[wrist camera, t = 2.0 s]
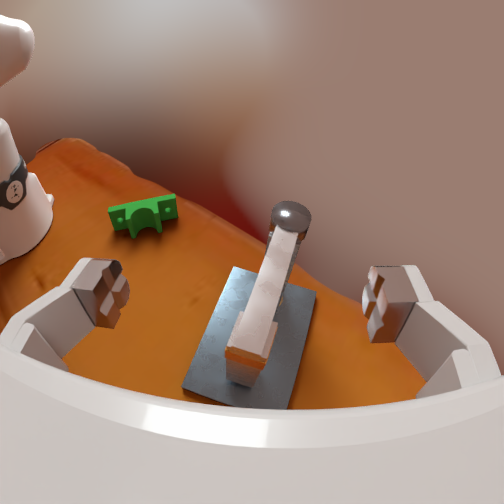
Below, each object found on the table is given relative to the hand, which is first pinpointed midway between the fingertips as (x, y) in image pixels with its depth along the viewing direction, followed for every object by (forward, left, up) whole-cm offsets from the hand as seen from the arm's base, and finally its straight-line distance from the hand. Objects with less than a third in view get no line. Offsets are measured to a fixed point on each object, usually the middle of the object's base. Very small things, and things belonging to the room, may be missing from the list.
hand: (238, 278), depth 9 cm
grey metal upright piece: (+1, +9, -25) cm, 26 cm away
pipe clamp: (-22, +20, -26) cm, 40 cm away
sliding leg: (+1, +3, -24) cm, 25 cm away
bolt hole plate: (+1, +8, -26) cm, 27 cm away
